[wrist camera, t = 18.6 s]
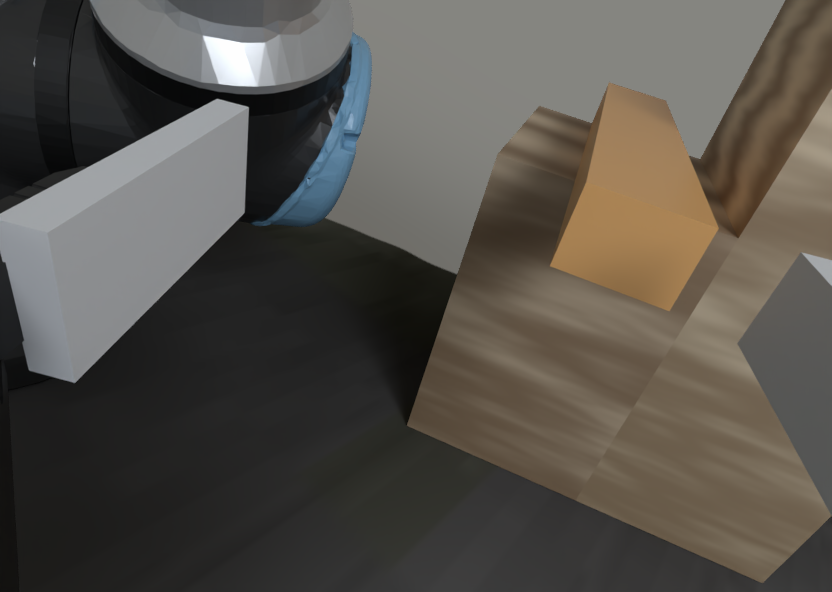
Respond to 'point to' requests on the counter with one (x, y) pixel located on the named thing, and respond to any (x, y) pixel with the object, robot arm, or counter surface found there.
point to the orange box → (635, 204)
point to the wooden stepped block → (649, 327)
